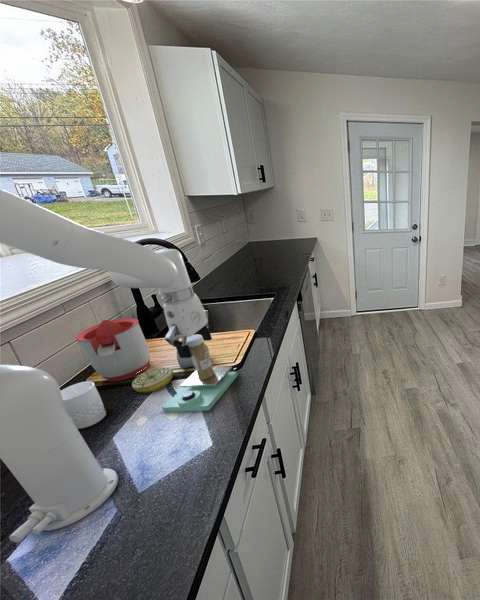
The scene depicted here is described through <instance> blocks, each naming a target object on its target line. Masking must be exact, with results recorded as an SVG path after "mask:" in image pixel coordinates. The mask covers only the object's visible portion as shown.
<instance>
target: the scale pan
mask: <svg viewBox="0 0 480 600" xmlns="http://www.w3.org/2000/svg"><path fill="white" fill-rule="evenodd" d="M212 367H213V366H212ZM232 369H233V366H214V367H213V370H214V372H215V374H214V375H213V376H212V377H210V378H208V379H204V380H201V379H199V378H198V374H197V371H196V370H195V371H194V372H192V373H191V375H189V376H188V377H187V378H186V380H184V381H183V382H182V383H181V384H180V388H183V387H198V386H217V385H218V384H219V383H220V381H221V380H222V379H223V378H224V377H225V376H226V375H227V374H228V372H231V370H232Z"/></svg>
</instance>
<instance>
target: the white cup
mask: <svg viewBox="0 0 480 600" xmlns="http://www.w3.org/2000/svg"><path fill="white" fill-rule="evenodd" d="M60 391H61V395H62V399H63V403H64V405H65V408H66V410H67V412H68V414H69V416H70V417H71V419H72V421H73V423H74V424H75V426H76V427H77V429H78V430H79V429H84V428H85V429H86V428H89V427H91V426H94V425H95V424H98V423H99V422H100V421H102V420H103V419H104V418H105V417H106V416H107V410H106V408H105V406H104V403H103V400H102V398H101V395H100V393H99V391H98V389H97V387H96V384H95V382H94V381H91V380H89V381H81V382H77V383H75V384H72V385H69V386H67V387H65V388H63V389H60Z"/></svg>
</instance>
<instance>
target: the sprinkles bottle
mask: <svg viewBox="0 0 480 600" xmlns="http://www.w3.org/2000/svg"><path fill="white" fill-rule="evenodd" d="M187 344H188V346H189V348H190V351H191V354H192V357H191V359H192V362H193V364H194V366H193V368H194V370H195V371H197V374H198V378H199V379H201V380H204V379H208V378H210V377H212V376H213V375H214V374H215V372H214V370H213V364H212V361H211V358H210V354H209V355H208V353H207V350H206V347H205V345H204V344H205V341H204V339H203V337H202V335H199V334H193V335H192V336H190V337H187V340H186V345H187Z"/></svg>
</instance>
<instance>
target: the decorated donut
mask: <svg viewBox="0 0 480 600" xmlns="http://www.w3.org/2000/svg"><path fill="white" fill-rule="evenodd" d="M173 376H174V371H173V369H172V368H170V367H156V368H153V369H149V370H146V371H143V372H142V373H140V374H138V375H137V376H136V377H135V378H134V380H133V381H132V383H131V387H132V389H133V390H134V391H135V392H137V393H139V394H149V393H153V392H156V391H158V390H161V389H163V388H165V387H166V386H168V385H169V384H170V383H171V381H172V379H173Z"/></svg>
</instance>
